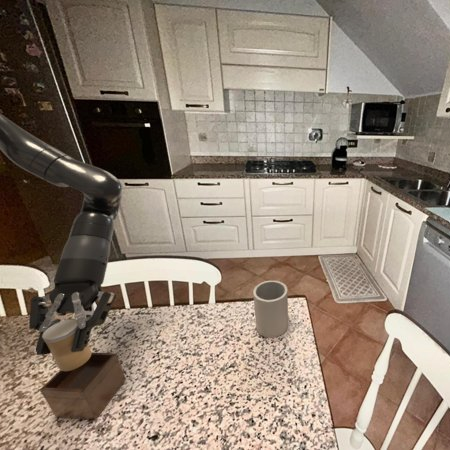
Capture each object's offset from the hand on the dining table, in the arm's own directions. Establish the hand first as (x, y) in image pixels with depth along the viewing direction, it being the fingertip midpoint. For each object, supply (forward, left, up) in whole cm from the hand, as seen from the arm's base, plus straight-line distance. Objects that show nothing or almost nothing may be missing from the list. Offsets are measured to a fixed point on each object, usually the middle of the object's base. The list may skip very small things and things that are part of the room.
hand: (60, 352), depth 44 cm
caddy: (0, +2, -15) cm, 15 cm away
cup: (+34, +24, -15) cm, 44 cm away
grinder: (0, +2, -4) cm, 5 cm away
